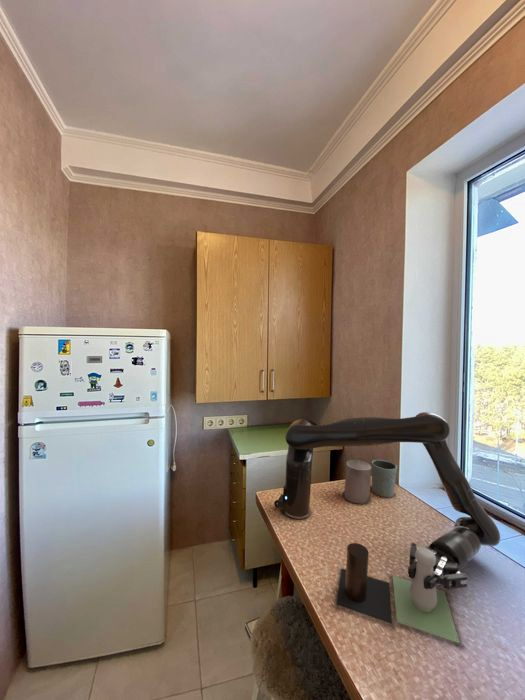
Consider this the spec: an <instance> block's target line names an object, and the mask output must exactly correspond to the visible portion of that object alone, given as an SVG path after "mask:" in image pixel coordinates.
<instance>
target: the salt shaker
mask: <svg viewBox="0 0 525 700" xmlns="http://www.w3.org/2000/svg"><path fill="white" fill-rule="evenodd" d="M417 548H418V549H416V552H415V557H416V560H417V567H416V572H415V577H414V578H413V579H411V581H412V583H411V587H410V595H411V597H412V600H413V603H414V605H415V606H416V607H417V608H418V609H419V610H420V611H423V612H428V613H430V612H431V610H432V609H433V608H434V607H435V606H436V605H437V600H438V599H437V592H436V589H437V585H436V586H435V587H434V588H433V589H428V590H427V589H425V588H424V579H425V578H426V577H427V576H428V575H429V576H431V575H432V574H433V573H434V570H433V566H435V563H436V557H435V555H434V553H433V552H432V551H431V550H429V549H427V548H428V547H421V546H420V547H417Z"/></svg>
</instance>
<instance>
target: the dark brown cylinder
mask: <svg viewBox="0 0 525 700" xmlns="http://www.w3.org/2000/svg"><path fill="white" fill-rule="evenodd" d="M369 556H370V554H369V549H368V548H367V547H366V546H365V545H363V544H361V543H357V542H352V543H349V544H348V545H347V546H346V564H345V570H346V580H345V593H346V595H347V597H348V598H349V599H350V600H352V601H354V602H359V603H360V602H363V601H365V599H366V591H367V576H368V571H369V570H368V569H369Z"/></svg>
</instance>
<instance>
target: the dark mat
mask: <svg viewBox="0 0 525 700" xmlns="http://www.w3.org/2000/svg"><path fill="white" fill-rule="evenodd" d="M345 580H346V568H340V576H339V582H338V583H339V584H338V591H337V597H336V606H340V607H342V608H345V609H348V610H351V611H354V612H356V613H359V614H362V615H365V616H368V617H371V618H374V619H376V620H378V621H382V622H385V623H388V624H391V625H392V624H393V619H392V602H391V591H390V590H391V589H390V582H387V581H384V580H381V579H377V578H374V577H371V576H368V575H367V591H366V599H365V601H363V602H360V603H359V602H354V601H352V600H350V599H349V598H348V597H347V595H346V593H345Z"/></svg>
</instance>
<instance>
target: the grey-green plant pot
mask: <svg viewBox="0 0 525 700" xmlns="http://www.w3.org/2000/svg"><path fill="white" fill-rule="evenodd" d="M370 465H371V491H372V492H373V494H375V495H377V496H379V497H382V498H392V497H394V495H395V487H396V478H397V471H398V466H397V464H396V463H394V462H392V461H389V460H385V459H373V460H372V461H371V463H370Z"/></svg>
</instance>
